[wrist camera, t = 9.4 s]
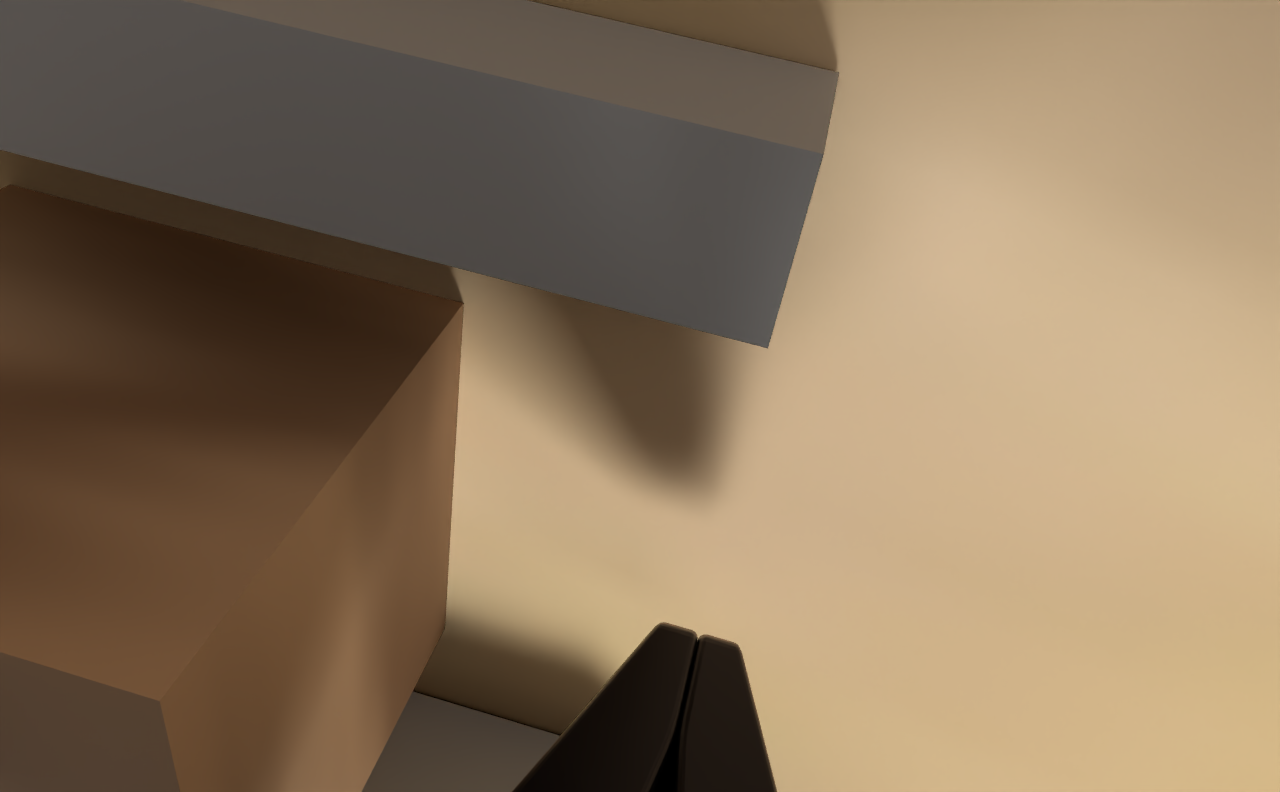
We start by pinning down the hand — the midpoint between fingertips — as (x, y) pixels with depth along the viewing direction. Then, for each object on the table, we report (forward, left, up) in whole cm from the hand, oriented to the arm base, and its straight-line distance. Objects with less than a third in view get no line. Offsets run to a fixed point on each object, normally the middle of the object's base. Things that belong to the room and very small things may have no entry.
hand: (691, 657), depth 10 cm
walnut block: (+6, 0, -2) cm, 6 cm away
